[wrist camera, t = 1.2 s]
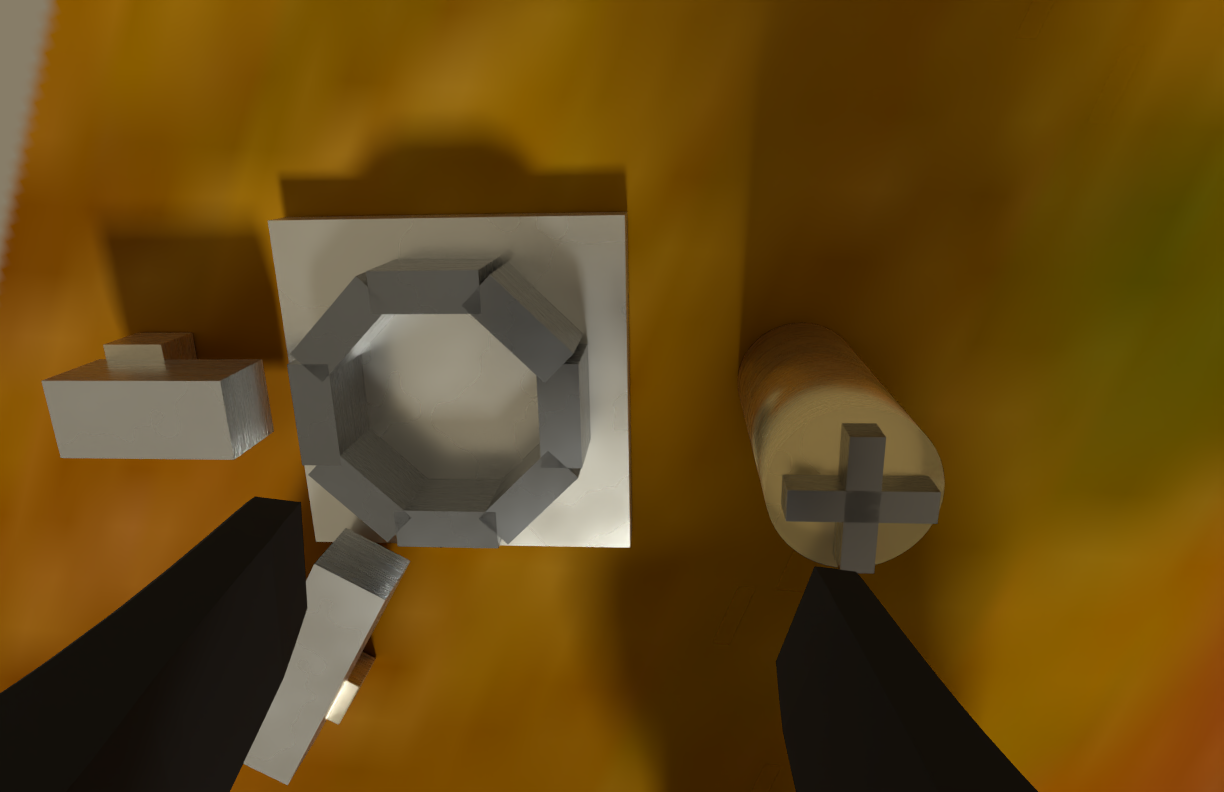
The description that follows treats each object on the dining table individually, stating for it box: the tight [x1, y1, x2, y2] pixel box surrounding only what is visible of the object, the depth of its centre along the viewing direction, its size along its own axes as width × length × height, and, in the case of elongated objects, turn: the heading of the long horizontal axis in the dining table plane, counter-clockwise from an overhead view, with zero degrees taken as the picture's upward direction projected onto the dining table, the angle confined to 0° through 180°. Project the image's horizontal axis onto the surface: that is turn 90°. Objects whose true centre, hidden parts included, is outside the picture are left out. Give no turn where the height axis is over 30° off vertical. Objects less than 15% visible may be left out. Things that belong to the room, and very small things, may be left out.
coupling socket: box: [42, 212, 632, 785], centre depth 21 cm, size 14×15×3 cm
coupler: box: [738, 323, 945, 573], centre depth 17 cm, size 3×3×8 cm
